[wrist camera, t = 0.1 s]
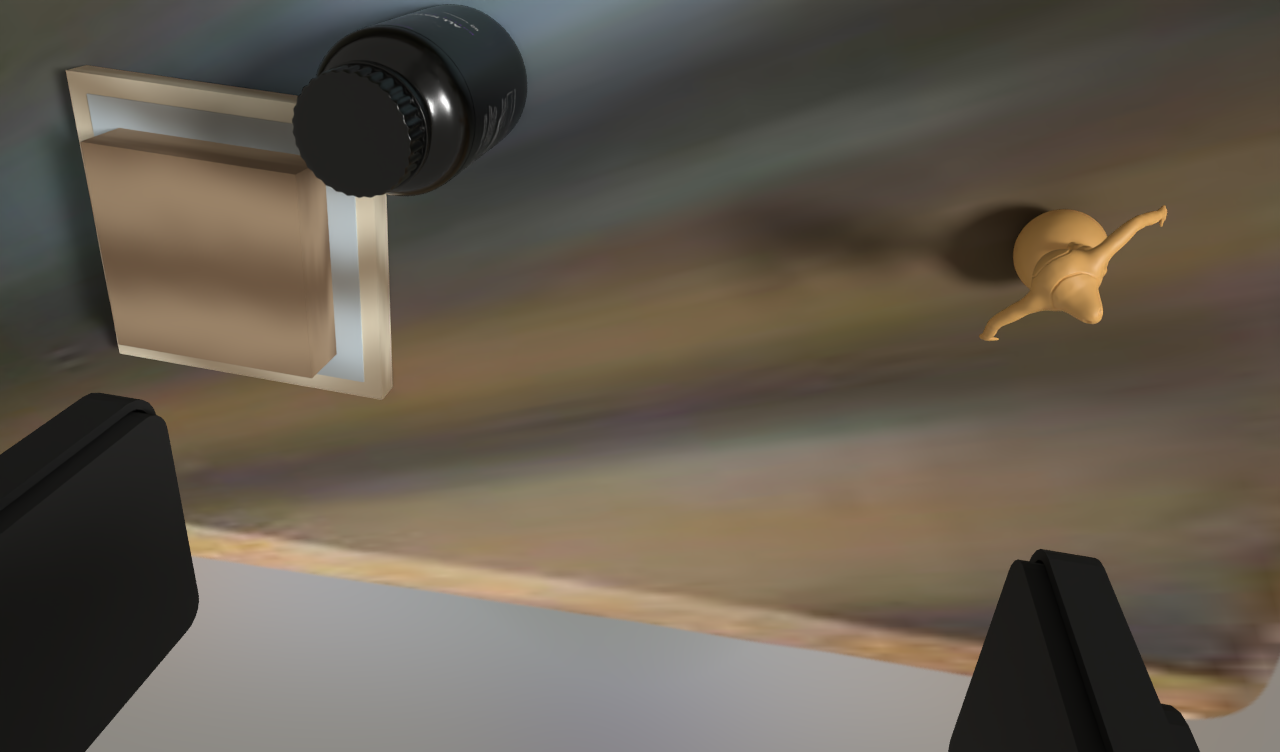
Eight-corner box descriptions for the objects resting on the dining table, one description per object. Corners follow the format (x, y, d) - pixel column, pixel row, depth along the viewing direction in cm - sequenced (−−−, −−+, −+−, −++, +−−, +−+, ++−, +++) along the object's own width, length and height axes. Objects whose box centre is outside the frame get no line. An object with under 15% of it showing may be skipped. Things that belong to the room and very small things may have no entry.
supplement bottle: (479, -28, 43) (369, 2, 32) (557, 107, 45) (477, 176, 35) (366, 47, 45) (230, 98, 35) (445, 171, 48) (340, 254, 37)
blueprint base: (86, 65, 48) (21, 81, 44) (383, 108, 46) (343, 129, 43) (136, 342, 56) (84, 377, 52) (392, 387, 54) (359, 426, 50)
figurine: (1001, 321, 46) (1054, 450, 36) (923, 235, 45) (954, 343, 34) (1158, 211, 43) (1268, 319, 32) (1078, 114, 41) (1166, 193, 31)
